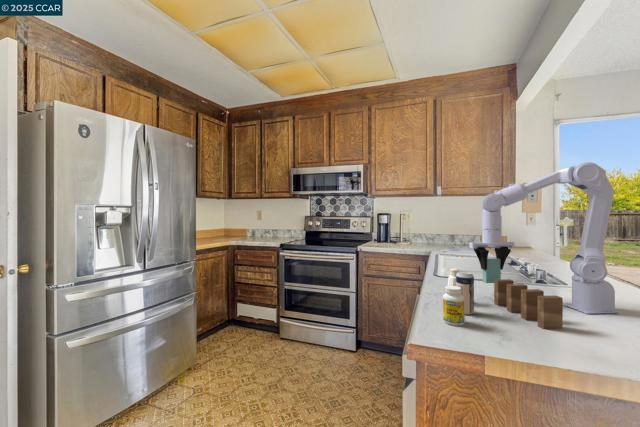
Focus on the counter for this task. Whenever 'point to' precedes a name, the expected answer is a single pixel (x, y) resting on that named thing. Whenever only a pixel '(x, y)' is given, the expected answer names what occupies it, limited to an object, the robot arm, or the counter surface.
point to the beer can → (466, 290)
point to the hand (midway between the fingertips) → (491, 269)
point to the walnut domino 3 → (530, 303)
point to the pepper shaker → (452, 277)
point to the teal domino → (492, 270)
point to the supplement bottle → (453, 306)
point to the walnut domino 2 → (514, 297)
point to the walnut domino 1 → (501, 291)
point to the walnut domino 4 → (550, 312)
